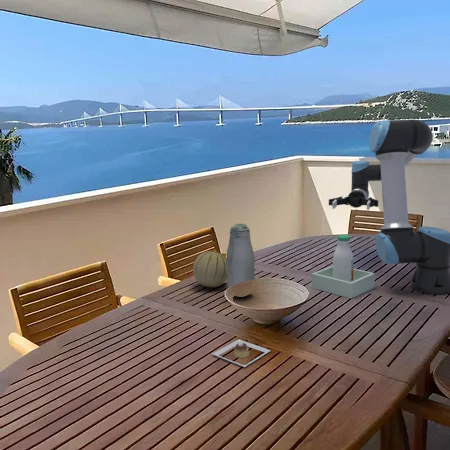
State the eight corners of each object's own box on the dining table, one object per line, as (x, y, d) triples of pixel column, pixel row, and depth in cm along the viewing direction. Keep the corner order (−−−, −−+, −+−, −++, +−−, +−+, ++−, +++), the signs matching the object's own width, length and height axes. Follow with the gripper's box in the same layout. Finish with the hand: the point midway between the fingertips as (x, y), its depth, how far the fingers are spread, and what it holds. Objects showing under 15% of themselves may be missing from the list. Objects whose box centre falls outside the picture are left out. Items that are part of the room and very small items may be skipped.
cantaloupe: (188, 291, 188) (186, 254, 185) (201, 279, 202) (199, 245, 199) (224, 293, 184) (222, 256, 181) (234, 281, 197) (233, 246, 194)
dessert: (238, 342, 143) (238, 327, 142) (271, 354, 135) (270, 338, 134) (211, 357, 135) (211, 341, 134) (244, 370, 127) (244, 354, 126)
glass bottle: (245, 302, 174) (242, 228, 168) (222, 297, 180) (220, 225, 174) (259, 294, 181) (258, 223, 175) (238, 290, 187) (235, 220, 182)
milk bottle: (348, 290, 180) (349, 239, 176) (329, 286, 185) (329, 236, 181) (356, 284, 186) (357, 234, 182) (337, 281, 191) (338, 232, 187)
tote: (374, 287, 184) (374, 273, 183) (351, 298, 174) (351, 283, 173) (335, 278, 197) (335, 264, 196) (311, 287, 187) (311, 273, 186)
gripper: (386, 207, 207) (382, 216, 188) (328, 205, 217) (319, 214, 198) (386, 190, 206) (383, 197, 187) (328, 189, 215) (319, 196, 196)
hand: (350, 206), depth 192 cm, fingers open, 13 cm apart
